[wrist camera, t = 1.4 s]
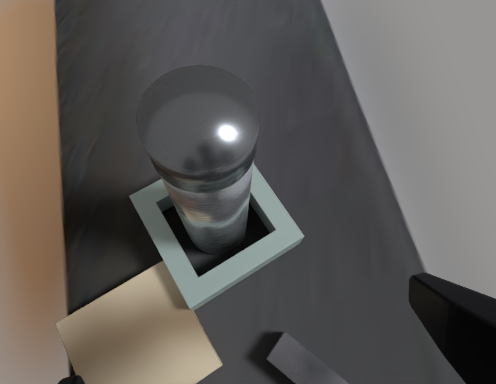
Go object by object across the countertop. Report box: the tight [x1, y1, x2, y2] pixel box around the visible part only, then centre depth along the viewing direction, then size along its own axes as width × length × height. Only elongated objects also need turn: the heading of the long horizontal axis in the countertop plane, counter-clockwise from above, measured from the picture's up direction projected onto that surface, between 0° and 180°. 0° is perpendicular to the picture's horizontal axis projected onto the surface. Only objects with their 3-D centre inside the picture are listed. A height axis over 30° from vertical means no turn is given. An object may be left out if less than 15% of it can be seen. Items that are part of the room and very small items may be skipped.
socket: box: [129, 164, 304, 311], centre depth 23 cm, size 8×8×2 cm
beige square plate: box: [56, 260, 222, 384], centre depth 20 cm, size 7×7×1 cm
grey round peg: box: [136, 65, 260, 254], centre depth 18 cm, size 4×4×13 cm
